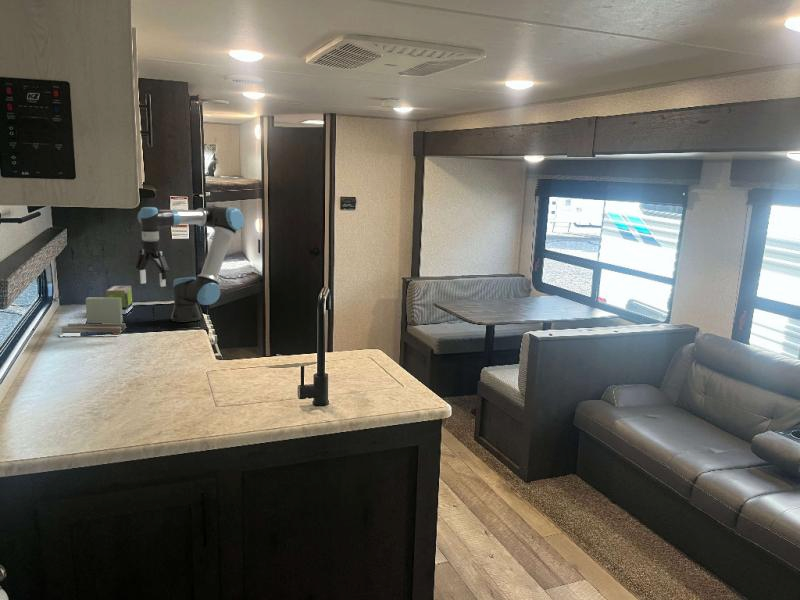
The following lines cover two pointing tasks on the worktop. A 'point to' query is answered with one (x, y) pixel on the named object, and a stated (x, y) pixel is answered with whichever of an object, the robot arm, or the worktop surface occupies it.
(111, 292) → the tea box
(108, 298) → the door panel
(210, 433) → the worktop surface
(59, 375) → the worktop surface
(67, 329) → the walnut track
